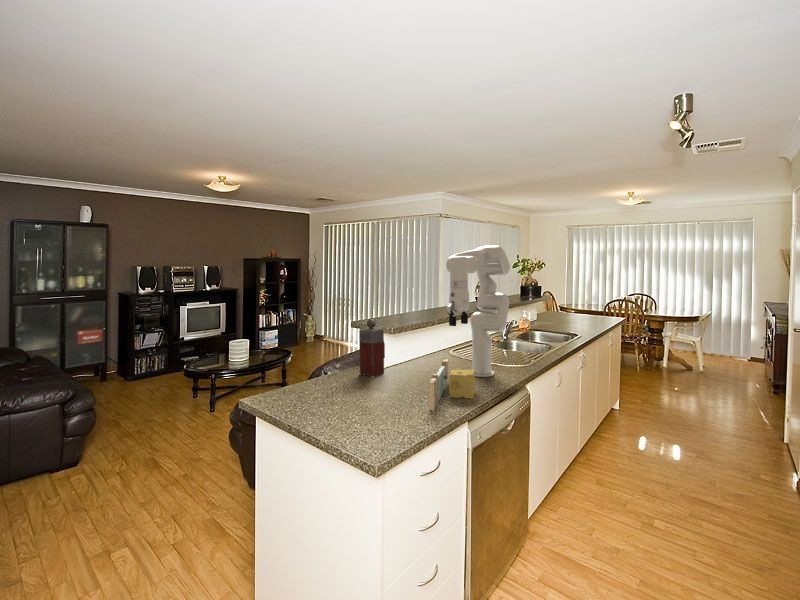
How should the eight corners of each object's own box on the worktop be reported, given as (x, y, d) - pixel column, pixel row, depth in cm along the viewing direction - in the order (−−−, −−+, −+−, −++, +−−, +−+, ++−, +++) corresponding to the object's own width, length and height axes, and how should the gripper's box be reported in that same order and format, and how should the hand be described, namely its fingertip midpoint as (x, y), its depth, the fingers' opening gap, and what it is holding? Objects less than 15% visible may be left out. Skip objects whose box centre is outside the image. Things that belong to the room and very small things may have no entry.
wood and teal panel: (444, 382, 203) (444, 357, 202) (448, 382, 202) (448, 357, 201) (429, 410, 164) (428, 379, 163) (434, 410, 164) (434, 380, 163)
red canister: (387, 372, 222) (386, 318, 220) (373, 377, 213) (372, 321, 211) (374, 369, 228) (373, 317, 225) (359, 374, 219) (358, 319, 216)
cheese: (474, 399, 177) (474, 375, 176) (448, 398, 179) (448, 374, 179) (474, 391, 187) (475, 369, 187) (450, 390, 190) (450, 368, 189)
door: (440, 402, 173) (440, 377, 172) (431, 401, 174) (431, 377, 173) (447, 387, 192) (447, 366, 191) (439, 387, 193) (439, 365, 192)
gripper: (456, 285, 175) (455, 327, 176) (476, 284, 189) (476, 323, 190) (440, 285, 180) (440, 326, 181) (461, 284, 193) (461, 322, 195)
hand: (458, 324), depth 185 cm, fingers open, 9 cm apart
